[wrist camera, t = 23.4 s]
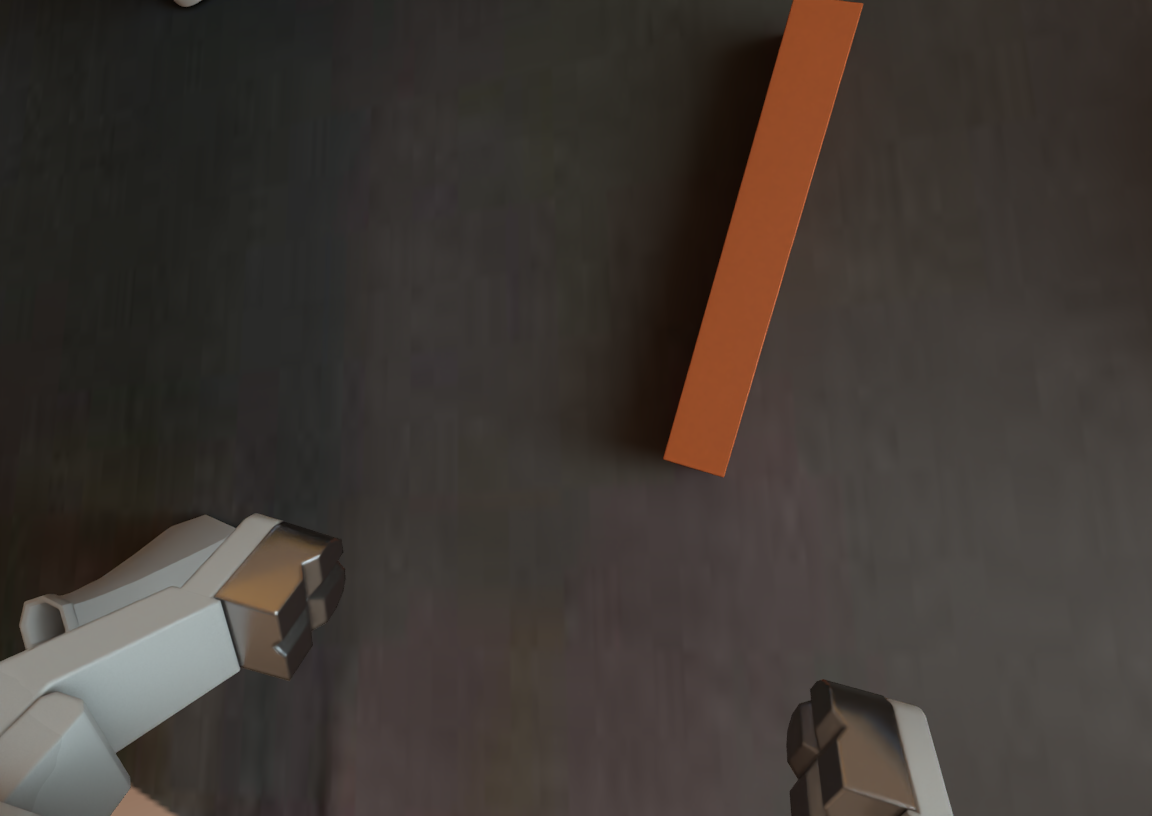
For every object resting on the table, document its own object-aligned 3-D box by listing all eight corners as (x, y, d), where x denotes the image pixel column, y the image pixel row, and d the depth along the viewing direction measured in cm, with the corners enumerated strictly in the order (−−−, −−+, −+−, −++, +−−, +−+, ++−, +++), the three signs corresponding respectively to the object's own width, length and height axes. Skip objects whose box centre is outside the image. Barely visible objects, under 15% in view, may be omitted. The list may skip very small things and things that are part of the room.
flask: (166, 619, 40) (-10, 692, 31) (163, 511, 40) (-15, 550, 30) (258, 629, 39) (103, 710, 29) (256, 516, 38) (99, 559, 29)
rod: (723, 469, 32) (723, 477, 29) (667, 452, 32) (662, 459, 29) (849, 40, 30) (863, 2, 27) (787, 32, 30) (794, -6, 27)
